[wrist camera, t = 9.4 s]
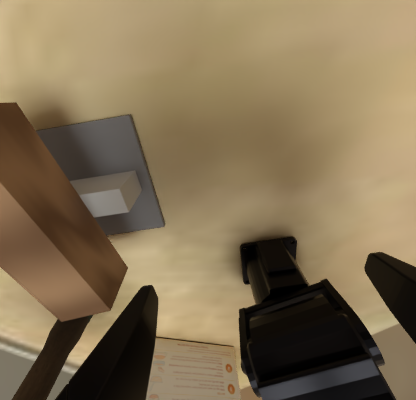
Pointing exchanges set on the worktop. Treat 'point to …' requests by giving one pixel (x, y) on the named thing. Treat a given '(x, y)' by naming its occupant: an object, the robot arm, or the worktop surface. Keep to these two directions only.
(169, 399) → the coffeecake box
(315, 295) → the robot arm
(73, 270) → the plank
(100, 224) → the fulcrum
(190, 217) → the worktop surface
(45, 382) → the potato masher grenade
